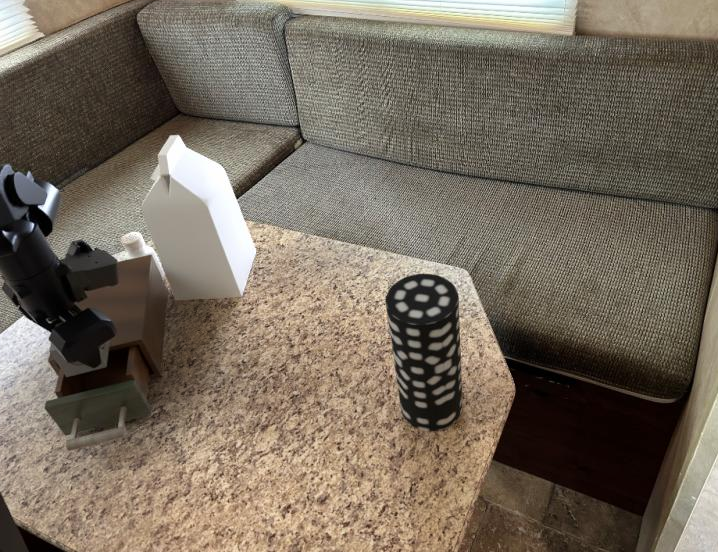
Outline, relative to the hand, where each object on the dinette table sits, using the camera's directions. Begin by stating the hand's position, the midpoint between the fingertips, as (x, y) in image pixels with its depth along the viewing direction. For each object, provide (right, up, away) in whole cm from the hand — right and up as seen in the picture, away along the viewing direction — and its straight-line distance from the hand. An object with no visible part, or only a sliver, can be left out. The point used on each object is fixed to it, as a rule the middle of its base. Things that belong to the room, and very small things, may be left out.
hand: (85, 353), depth 80 cm
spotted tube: (+46, -7, +1) cm, 47 cm away
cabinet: (-2, 0, +16) cm, 16 cm away
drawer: (0, -6, +8) cm, 10 cm away
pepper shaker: (-2, +8, +27) cm, 28 cm away
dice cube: (0, -1, +1) cm, 1 cm away
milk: (+10, +9, +26) cm, 30 cm away
